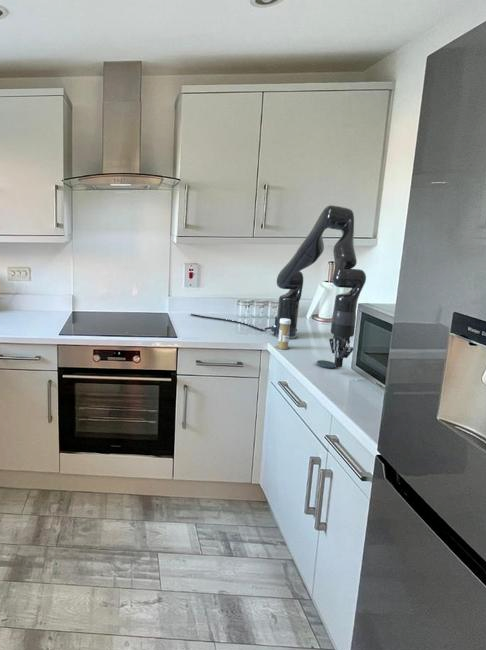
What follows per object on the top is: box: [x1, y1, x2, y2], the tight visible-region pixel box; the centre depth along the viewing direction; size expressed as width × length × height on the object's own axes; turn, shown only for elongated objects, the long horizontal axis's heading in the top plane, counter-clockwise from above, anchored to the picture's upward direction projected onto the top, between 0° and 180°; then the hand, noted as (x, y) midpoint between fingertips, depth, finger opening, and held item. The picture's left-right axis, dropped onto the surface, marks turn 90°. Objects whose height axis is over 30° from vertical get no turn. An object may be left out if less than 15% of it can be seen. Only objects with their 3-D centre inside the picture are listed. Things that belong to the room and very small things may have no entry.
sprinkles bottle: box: [277, 318, 291, 350], centre depth 188 cm, size 5×5×14 cm
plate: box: [316, 359, 337, 369], centre depth 166 cm, size 7×7×1 cm
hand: (338, 366), depth 158 cm, fingers closed
